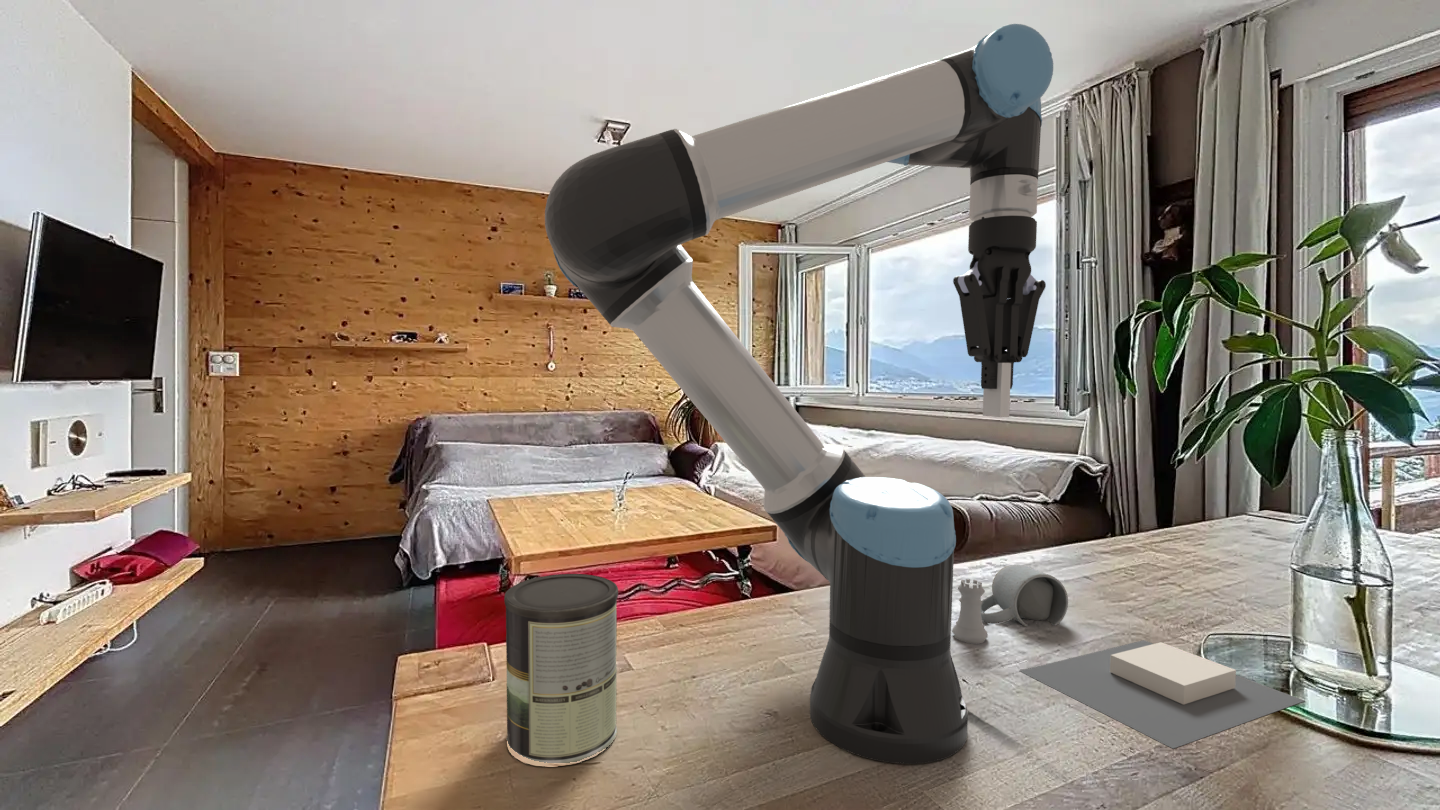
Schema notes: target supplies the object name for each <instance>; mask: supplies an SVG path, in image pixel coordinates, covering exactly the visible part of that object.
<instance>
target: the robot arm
mask: <svg viewBox="0 0 1440 810" xmlns="http://www.w3.org/2000/svg"><path fill="white" fill-rule="evenodd" d="M1052 54H1053V53H1052V52H1051V48H1050V46H1049V44H1048V42H1047V40H1046V39H1045V38H1044V36H1043V35H1042V34H1041V33H1040V32H1039V31H1038V30H1036V29H1034V28H1033V27H1031V26H1028V25H1026V24H1022V23H1011V24H1006V25H1003V26H1001V27H999V28H997V29H996V30H994V31H993V32H991V33H989V34H986V35H985V36H984V37H982V39H979V41H978V42H977V44H976V45H975V46H973V47H970V48H969V49H966V50H964V51H960V52H957V53H953V54H951V55H947V56H944V57H942V58H939V59H936V60H934V61H930V62H927V63H923V64H920V65H917V66H914V67H911V68H907V69H903V70H901V71H897V72H895V73H891V74H889V75H888V74H887V75H885V76H881V77H878V78H875V79H872V80H868V81H865V82H863V83H859V84H855V85H853V86H849V87H847V88H844V89H839V90H837V91H833V92H829V93H827V94H824V95H820V96H817V97H814V98H810V99H808V100H804V101H802V102H798V103H795V104H791V105H788V106H785V107H782V108H778V109H775V110H772V111H769V112H768V111H767V112H765V113H762V114H760V115H759V114H758V115H756V116H752V117H749V118H747V119H744V120H740V121H737V122H733V123H730V124H727V125H725V126H721V127H717V128H715V129H714V128H713V129H710V130H708V131H705V132H704V131H703V132H702V133H698V134H695V135H692V136H690V135H688V134H687V133H685V132H683V131H681V130H680V129H678V128H673V129H669V130H666V131H663V132H660V133H656V134H652V135H649V136H647V137H642V138H640V139H637V140H633V141H630V142H627V143H623V144H620V145H616V146H613V147H610V148H608V149H605V150H601V151H599V152H596V153H593V154H591V155H588V156H586V157H584V158H582V159H580V160H579V161H577V162H575V163H573V164H572V165H570V166H569V167H568V168H567V169H566V170H565V171H563V172H562V174H561V175H560V176H559V177H558V178H557V179H556V181H554V182H555V183H554V184H553V185H552V187H551V189H550V190H549V194H548V195H547V198H546V204H545V207H544V208H545V209H544V226H545V232H546V237H547V238H548V241H549V244H550V246H551V248H552V251H553V254H554V259H555V261H556V264H557V267H558V268H559V270H560V272H562V274H563V275H564V277H565V278H566V280H568V282H570V284H571V285H572V286H574V287H576V288H578V290H579V291H580V292H582V294H583V295H584V296H585V297H586V298H587V300H589V302H590V303H591V304H592V306H594V307H595V308H596V310H597V311H598V312H599V314H601V316H602V317H603V318H604V320H606V322H607V323H608V324H609V325H610V326H611V328H618V329H620V328H621V329H626V330H627V329H628V330H631V331H633V333H634V334H635V336H637V337H638V338H639V340H640V341H641V343H642V344H643V345H644V346H645V347H646V348H647V350H648V351H649V352H650V353H651V354H652V355H653V357H654V358H655V360H656V361H658V363H659V364H660V365H661V367H663V369H664V370H665V371H666V372H667V373H668V375H669V376H670V377H671V378H672V380H673V381H674V382H675V383H676V385H677V386H678V387H679V388H680V389H681V391H682V392H683V393H684V394H685V396H687V398H688V399H689V400H690V401H691V402H692V403H693V405H694V406H695V407H696V408H697V410H698V411H699V413H700V414H701V415H703V417H704V419H706V420H707V422H708V423H709V424H710V425H711V426H712V428H713V429H714V430H715V432H717V434H718V435H719V436H720V438H722V440H723V441H724V442H725V444H727V446H728V447H729V448H730V450H731V451H732V452H733V453H734V454H735V455H736V456H737V458H738V459H739V460H740V461H741V463H743V465H744V466H745V468H746V469H747V470H748V471H749V473H751V475H752V476H753V477H754V479H755V480H756V481H757V482H758V484H760V485H761V487H762V488H763V489H764V497H763V505H762V506H763V510H765V511H764V512H766V513H767V515H769V517H770V518H771V519H772V520H773V521H774V523H775V524H776V525H777V527H779V529H780V530H781V531H782V533H784V536H785V537H786V539H787V541H788V544H789V546H790V547H791V548H792V549H793V550H794V551H795V553H796V554H797V555H798V556H799V557H801V558H802V559H803V560H804V561H806V562H807V563H809V564H810V565H811V566H812V568H814V569H816V571H818V573H820V574H821V575H822V577H823V578H824V579H825V580H827V581H828V582H829V623H828V624H829V627H828V630H829V631H828V641H827V645H826V646H825V649H824V652H823V655H822V658H821V661H820V664H819V668H818V671H817V673H816V677H815V680H814V681H813V683H812V686H811V687H810V694H809V695H810V699H809V702H810V704H809V717H810V720H811V723H812V725H813V726H814V728H815V729H816V731H817V732H818V733H819V734H821V736H822V737H824V738H825V739H826V740H827V741H829V742H830V743H832V745H835V746H837V747H838V748H841V749H842V750H844V751H845V752H846V751H847V752H849V753H851V754H854V755H857V756H859V757H862V758H865V759H870V760H873V761H874V760H875V761H879V762H885V763H892V764H903V765H904V764H907V765H908V764H909V765H910V764H911V765H912V764H925V763H932V762H936V761H941V760H944V759H946V758H948V757H951V756H953V755H954V754H956V753H957V752H959V751H960V750H961V749H962V748H963V746H964V745H965V743H966V741H967V738H968V720H969V719H968V718H969V714H968V707H967V704H966V700H965V699H964V697H963V694H962V693H963V692H962V689H961V685H960V681H959V677H958V674H957V671H956V667H955V663H954V661H953V658H952V652H951V640H952V639H951V637H952V636H951V635H952V634H951V633H952V613H953V611H952V610H953V588H954V587H953V584H954V582H953V581H954V557H955V553H954V552H955V548H956V543H957V535H956V530H955V521H954V519H955V518H954V510H953V507H952V505H951V503H950V501H949V500H948V499H947V497H945V496H944V495H943V494H942V493H940V492H939V491H938V490H936V489H934V488H932V487H930V486H927V485H924V484H922V483H918V482H909V481H907V480H905V479H902V478H894V477H885V476H884V477H883V476H866V475H865V474H864V473H863V471H862V470H861V468H859V467H858V466H857V464H856V463H855V462H854V460H853V459H852V457H850V455H849V454H848V453H847V451H846V450H845V449H844V448H843V447H842V446H841V445H839V444H831V443H824V442H822V441H821V440H820V439H819V437H818V436H817V434H815V433H814V431H813V430H812V428H811V427H810V426H809V425H808V423H807V422H806V421H805V420H804V419H803V417H802V416H801V415H800V414H799V412H797V410H796V408H795V407H794V406H793V405H792V404H791V402H790V401H789V400H788V399H787V398H786V397H785V395H784V394H783V393H782V391H781V390H780V389H779V388H778V386H777V385H776V383H774V382H773V380H772V379H771V378H770V376H769V375H768V374H767V373H766V371H765V370H764V369H763V368H762V366H761V365H760V364H759V363H758V362H757V360H756V359H755V358H754V356H753V355H752V354H751V353H750V351H749V350H748V349H747V348H746V347H745V346H744V343H742V342H741V339H739V338H738V336H737V335H736V334H735V332H733V330H732V329H731V328H730V327H729V325H728V323H726V322H725V320H724V319H723V317H722V316H720V314H719V313H718V311H717V310H716V309H715V308H714V306H712V304H711V303H710V302H709V300H708V299H707V298H706V297H705V295H704V293H702V292H701V290H700V289H699V288H698V287H697V285H696V284H695V283H694V281H693V277H692V275H693V266H694V265H693V263H694V260H693V258H692V257H691V256H690V255H689V253H688V252H687V251H686V249H685V247H683V246H682V245H683V244H685V243H687V242H690V241H693V240H696V239H698V238H701V237H705V236H707V235H709V233H710V231H711V230H712V227H713V225H714V223H715V221H717V220H720V219H723V218H726V217H729V216H732V215H735V214H738V213H741V212H743V211H746V210H749V209H752V208H755V207H758V206H762V205H765V204H767V203H770V202H774V201H776V200H779V199H782V198H784V197H788V196H791V195H794V194H796V193H799V192H802V191H806V190H808V189H811V188H814V187H817V186H820V185H823V184H826V183H829V182H831V181H834V180H838V179H840V178H843V177H846V176H849V175H853V174H856V173H858V172H861V171H864V170H866V169H870V168H872V167H876V166H878V165H881V164H884V163H891V164H899V165H903V166H906V167H907V166H909V165H910V166H925V167H944V168H958V169H960V168H962V169H964V168H965V169H969V175H970V176H969V177H970V180H969V181H970V183H969V184H970V187H969V188H970V189H969V190H970V191H969V211H968V212H969V213H968V214H969V215H968V218H969V219H970V220H971V221H972V222H971V223H970V225H968V246H967V249H968V253H969V254H971V256H972V259H971V262H970V264H969V270H968V271H966V272H965V273H964V274H962V275H961V274H960V275H955V276H954V277H953V280H952V282H953V283H952V284H953V285H954V288H955V290H956V292H957V294H958V297H959V301H960V303H959V304H960V311H961V317H962V318H961V319H962V325H963V331H964V337H965V343H966V348H967V349H966V350H967V351H966V352H967V354H968V356H969V357H973V359H974V362H976V363H981V364H980V366H981V371H980V373H981V374H980V375H981V376H980V386H981V389H982V390H983V394H982V395H983V396H982V417H983V416H984V417H993V418H1010V408H1011V407H1010V406H1011V403H1010V401H1011V390H1012V389H1013V386H1014V384H1013V383H1014V381H1013V380H1014V364H1015V363H1021V362H1022V360H1023V358H1026V357H1027V356H1028V355H1029V350H1030V345H1031V340H1032V335H1033V331H1034V326H1035V320H1036V318H1037V317H1036V316H1037V312H1038V307H1039V303H1040V299H1041V296H1042V295H1043V293H1044V291H1045V289H1046V282H1045V280H1043V279H1041V280H1037V279H1036V278H1035V277H1034V276H1033V275H1032V266H1031V263H1030V254H1031V253H1032V252H1033V251H1035V249H1036V247H1037V233H1038V232H1037V230H1038V222H1037V220H1036V219H1035V218H1034V216H1035V215H1036V214H1037V213H1038V184H1039V182H1038V181H1039V173H1040V171H1039V168H1040V151H1041V149H1040V148H1041V147H1040V146H1041V131H1042V128H1041V127H1042V124H1043V118H1042V100H1041V99H1042V97H1043V96H1044V95H1045V93H1046V92H1047V90H1048V89H1049V87H1050V85H1051V82H1052V79H1053V75H1054V59H1053V56H1052Z"/></svg>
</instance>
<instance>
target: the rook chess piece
mask: <svg viewBox="0 0 1440 810" xmlns="http://www.w3.org/2000/svg"><path fill="white" fill-rule="evenodd" d="M957 590H958V592H959V593H960V597H959V598H958V599H959V603H960V610H959V615H958V616H959V617H958V619H957V620H956V622H955V625H953V626H952V629H951V633H953V636H954V638H955V639H956V640H958V641H959V642H963V643H967V644H974V645H975V644H977V645H978V644H984V642H986V639H987V638H988V636H989V635H988V631H987V630H986V628H985V625H984V622H983V621H982V618H981V604H982V603H983V602H982V596H983V595H984V594H985V589H984V588H983V584H982V581H978V580H976V579H973V580H972V582H971V579H970V578H966V579H961V581H960V584H959V585H958V587H957Z"/></svg>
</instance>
